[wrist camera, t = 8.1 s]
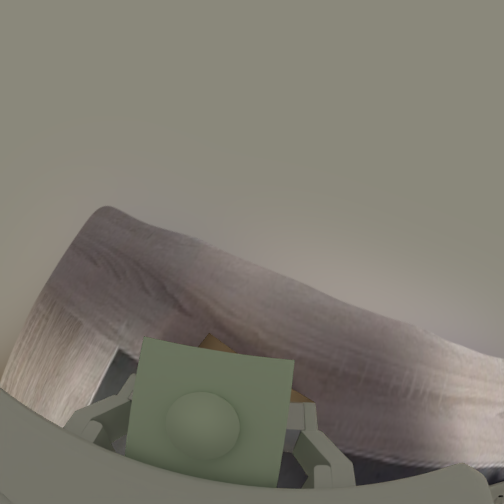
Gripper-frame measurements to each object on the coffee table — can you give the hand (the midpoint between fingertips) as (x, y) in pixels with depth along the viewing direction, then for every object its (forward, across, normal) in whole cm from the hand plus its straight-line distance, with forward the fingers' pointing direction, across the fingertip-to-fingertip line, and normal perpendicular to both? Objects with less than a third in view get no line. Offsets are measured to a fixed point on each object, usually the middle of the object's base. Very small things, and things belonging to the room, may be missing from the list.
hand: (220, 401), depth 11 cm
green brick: (+3, 0, +4) cm, 4 cm away
